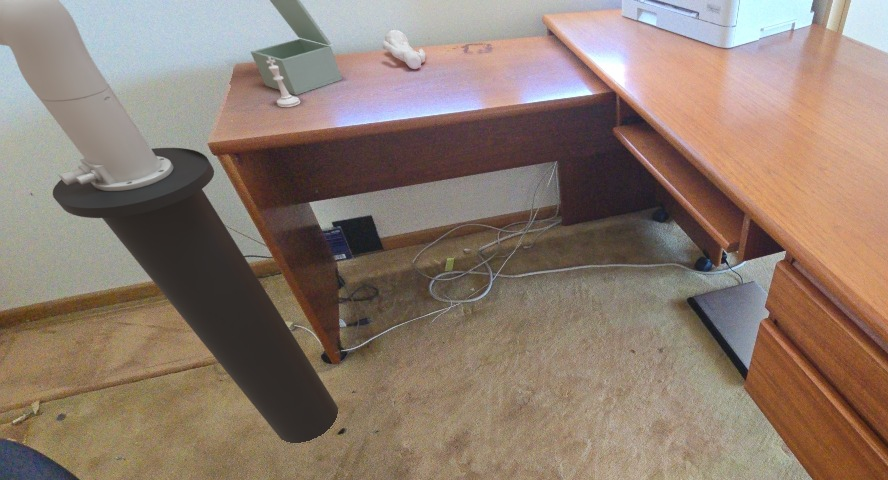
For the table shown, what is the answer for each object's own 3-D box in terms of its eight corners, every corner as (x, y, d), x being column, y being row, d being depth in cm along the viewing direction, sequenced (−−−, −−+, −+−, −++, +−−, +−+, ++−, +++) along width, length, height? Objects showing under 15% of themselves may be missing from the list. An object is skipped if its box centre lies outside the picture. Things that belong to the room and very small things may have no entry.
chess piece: (274, 102, 123) (253, 56, 116) (296, 98, 125) (277, 52, 118) (281, 108, 120) (260, 62, 113) (303, 104, 123) (284, 58, 116)
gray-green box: (296, 95, 126) (281, 60, 121) (265, 85, 130) (250, 51, 124) (342, 79, 135) (330, 46, 129) (312, 71, 139) (300, 38, 133)
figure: (372, 46, 149) (391, 70, 138) (373, 21, 145) (393, 44, 134) (413, 55, 156) (434, 78, 145) (414, 31, 152) (437, 53, 141)
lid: (285, -15, 116) (300, -29, 118) (252, -22, 120) (267, -35, 121) (329, 45, 129) (342, 32, 131) (298, 37, 133) (311, 24, 134)
